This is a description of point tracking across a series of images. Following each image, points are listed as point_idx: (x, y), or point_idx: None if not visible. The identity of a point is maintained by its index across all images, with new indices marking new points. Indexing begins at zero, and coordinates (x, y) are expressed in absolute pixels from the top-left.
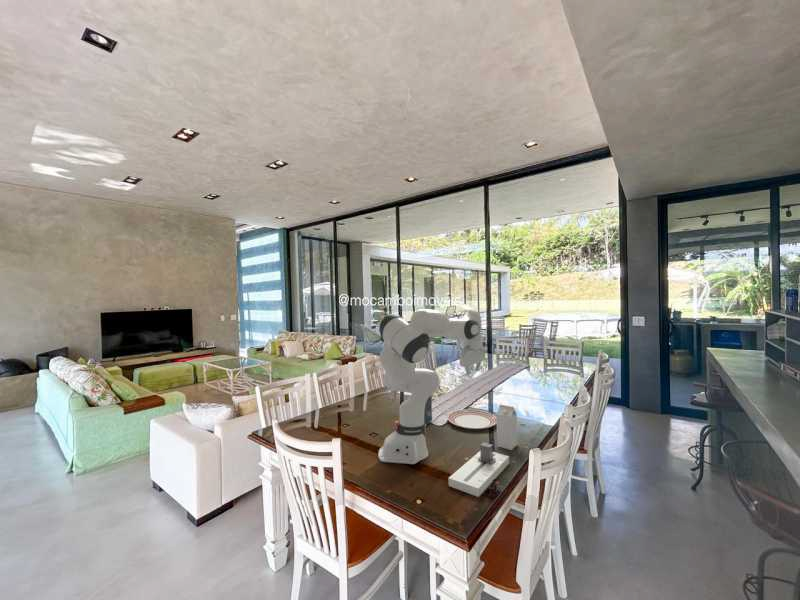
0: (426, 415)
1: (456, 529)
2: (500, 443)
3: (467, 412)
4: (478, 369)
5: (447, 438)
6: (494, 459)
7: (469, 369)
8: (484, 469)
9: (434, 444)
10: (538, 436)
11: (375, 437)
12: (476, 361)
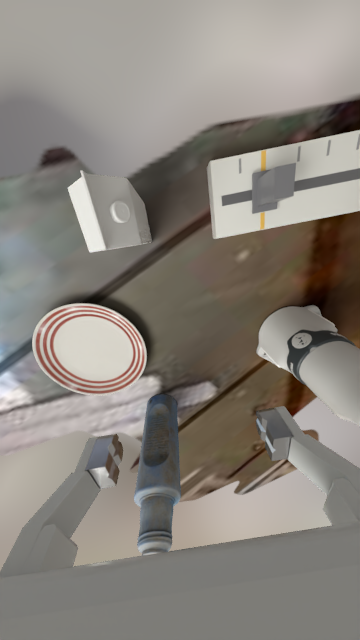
0: (168, 406)
1: None
2: (149, 232)
3: (71, 381)
4: (107, 450)
5: (193, 333)
6: (260, 172)
7: (323, 458)
8: (304, 169)
9: (230, 332)
10: (14, 194)
11: (266, 401)
12: (193, 611)
